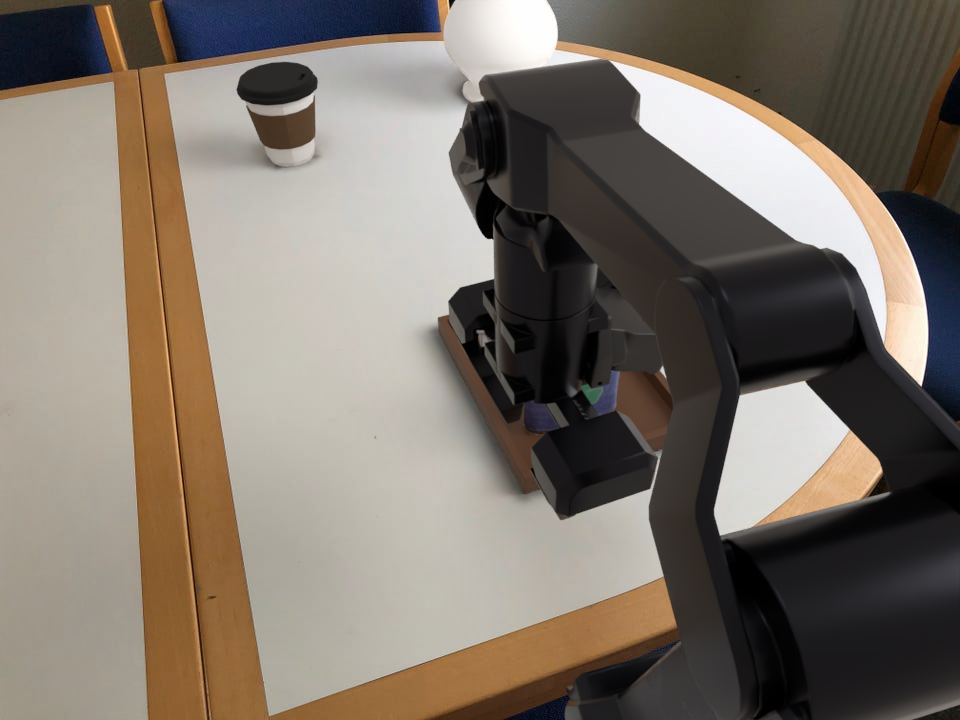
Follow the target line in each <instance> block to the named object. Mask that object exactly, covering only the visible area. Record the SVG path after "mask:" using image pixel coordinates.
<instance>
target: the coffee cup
mask: <svg viewBox="0 0 960 720" xmlns="http://www.w3.org/2000/svg"><path fill="white" fill-rule="evenodd" d="M318 84H319V81H318V77H317V76H316V75H315V74H314V71H313V70H311V68H310V67H309V66H307V65H305V64H303V63H298V62H294V61H293V62H291V61H276V62H269V63H264V64H259V65H257V66H254V67H251V68H249V69H246V71H245V72H243V73H242V74H241V75H240V76H239V78H238V82H237V87H236V94H237V95H238V97H239V98H240V100H242V101H244V102H245V104H246V105H245V108H246V110H247V112H248V115H249V117H250V119H251V122H252V124H253V128H254V129H255V131H256V134H257V137H258V139H259V141H260V143H261V144H262V146H263V148H264V150H265V152H266V155H267V157H268V158H269V160H270V161H271V162H272V163H273V164H274V165H276V166H278V167H282V168H294V167H299V166H302V165H305V164H306V163H309V162H310V161H311V160H312V158H313V157H314V155H315V149H316V148H315V147H316V146H315V138H316V130H317V129H316V95H315V91H316V90H318Z"/></svg>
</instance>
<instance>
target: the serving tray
mask: <svg viewBox="0 0 960 720" xmlns="http://www.w3.org/2000/svg"><path fill="white" fill-rule="evenodd" d="M437 327H438V328H437V329H438V333H439V336H440V338H441V339H442V341H443V344H444V345H445V347H446V349H447V351H448V352H449V354H450V356H451V358H452V361H453V362H454V364H455V366H456V368H457V369H458V372H459V374H460V375H461V377H462V379H463V381H464V383H465V385H466V386H467V389H468V390H469V392H470V394H471V396H472V398H473V400H474V401H475V404H476V405H477V407H478V410H479V411H480V413H481V414H482V417H483V419H484V421H485V422H486V425H487V427H488V428H489V431H490V432H491V433H492V436H493V437H494V439H495V441H496V443H497V445H498V447H499V449H500V451H501V453H502V455H503V456H504V459H505V460H506V462H507V464H508V466H509V467H510V470H511V472H512V474H513V476H514V478H515V479H516V481H517V484H518V485H519V487H520V488H521V491H522V493H523V494H524V495H526V494H530V493H532V492H536V491H539V490H541V489H540V487H539V486H538V484H537V482H536V480H535V478H534V477H533V475H532V473H531V471H530V469H531V468H533V465H532V461H531V448H532V446H533V445H534V444H535V443H536V442H537V441H538V440H539V439H540V438H541V437H542V436H543V435H534V434H530V433H529V432H527V431H526V428H525V425H523V424H524V407H523V411H522V415H521V419H520V420H519V421H517V422H514V423H510V424H507V423H506V422H505V420H504V418H503V417H502V415H501V413H500V412H499V410H498V408H497V406H496V405H495V403H494V401H493V400H492V398H491V396H490V394H489V393H488V391H487V389H486V388H485V386H484V384H483V383H482V381H481V379H480V378H479V376H478V374H477V373H476V371H475V369H474V367H473V366H472V364H471V362H470V361H469V359H468V357H467V355H466V353H465V352H464V350H463V348H462V346H461V344H460V342H459V341H458V338H457V334H456V332H455V330H454V329H453V327H452V325H451V323H450V321H449V314H445V315H441V316H438V317H437ZM672 409H673V401H672V397H671V393H670V390H669V386H668V382H667V379H666V375H665V374H663V373H662V371H661V370H660V372H659V373H656V374H648V373H647V372H646V371H642V372H620V374H619V380H618V387H617V398H616V408H615V410H614V411H618V412H620V413H622V414H624V415H626V416H628V417H629V418H630V419H631V421H632V422H633V424H634V425H635V426H636V428H637V429H638V431H639V432H640V433H641V435H642V436H643V438H644V439H645V440H646V442H647V443H648V445H649V446H650V447H651V449H652V450H653V452H654V453H655V452H658V451H660V450H661V451H662V450H663V446H664V442H665V437H666V433H667V429H668V425H669V421H670V417H671V413H672Z"/></svg>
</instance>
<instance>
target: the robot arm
mask: <svg viewBox="0 0 960 720" xmlns="http://www.w3.org/2000/svg"><path fill="white" fill-rule="evenodd" d="M479 89H480V94H481V95H482V96H483V97H484V100H483V101H478V102H468V103H467V105H466V108H465V112H464V116H463V117H464V118H463V121H462V125H461V127H460V128H459V131H458V133H457V134H456V135H457V136H456V137H455V139H454V140H453V143H452V145H451V147H450V149H449V151H448V156H449V162H450V168H451V173H452V177H453V178H454V180H455V182H456V184H457V187H458V188H459V191H460V193H461V195H462V196H463V199H464V201H465V203H466V205H467V207H468V209H469V211H470V213H471V215H472V217H473V219H474V221H475V224H476V225H477V227H478V230H479V231H480V233H481V235H482V236H483V237H484V238H485V239H486V240H492V241H493V242H492V243H493V278H492V279H488V280H484V281H480V282H476V283H471V284H468V285H464V286H461V287H459V288H458V289H456V291H455V293H453V295H452V296H451V297H450V299H449V300H448V301H447V305H448V315H449V321H450V323H451V325H452V327H453V329H454V330H455V332H456V334H457V338H458V341H459V342H460V344H461V346H462V348H463V350H464V352H465V353H466V355H467V357H468V359H469V361H470V362H471V364H472V366H473V367H474V369H475V371H476V373H477V374H478V376H479V378H480V379H481V381H482V383H483V384H484V386H485V388H486V389H487V391H488V393H489V394H490V396H491V398H492V400H493V401H494V403H495V405H496V406H497V408H498V410H499V412H500V413H501V415H502V417H503V418H504V420H505V422H506V423H507V424H510V423H514V422H517V421H519V420H520V419H521V415H522V411H523V407H524V403H526V402H530V401H532V402H534V403H536V404H544V405H545V406H546V408H547V410H548V411H549V413H550V414H551V416H552V418H553V419H554V421H555V422H556V424H557V426H558V427H559V429H555V430H552V431H549V432H546V433H545V434H544V435H543V436H542V437H541V438H540V439H539V440H538V441H537V442H536V443H535V444H534V445H533V446H532V448H531V461H532V465H533V468H531V469H530V471H531V473H532V475H533V477H534V478H535V480H536V482H537V484H538V486H539V487H540V489H539V490H540V491H541V493H542V495H543V497H544V498H545V501H546V502H547V503H548V505H550V507H551V508H552V509H553V512H554V513H555V514H556V516H557V518H558V519H559V520H560V521H565V520H567V519H570V518H573V517H575V516H576V515H579V514H582V513H584V512H587V511H590V510H592V509H596V508H598V507H601V506H605V505H608V504H611V503H614V502H616V501H619V500H622V499H624V498H627V497H631V496H634V495H637V494H640V493H643V492H646V491H648V490H651V488H652V490H651V495H650V499H649V502H648V503H649V504H648V523H649V526H650V529H651V533H652V537H653V541H654V546H655V549H656V553H657V557H658V560H659V564H660V568H661V571H662V575H663V580H664V583H665V587H666V591H667V594H668V599H669V602H670V606H671V610H672V614H673V617H674V621H675V625H676V628H677V633H678V636H679V641H678V642H677V643H676V644H675V645H673V647H670V648H666V649H663V650H659V651H656V652H652V653H648V654H645V655H641V656H638V657H635V658H631V659H628V660H624V661H620V662H617V663H613V664H609V665H605V666H602V667H599V668H595V669H593V670H587V671H585V672H582V673H580V674H579V675H577V677H576V678H575V679H574V680H573V684H571V685H568V686H565V690H566V694H567V696H568V698H569V700H568V701H567V702H566V704H565V707H564V719H565V720H915V719H920V718H922V717H925V716H928V715H932V714H934V713H938V712H942V711H945V710H947V709H950V708H954V707H957V706H960V425H959V424H958V423H957V422H956V421H955V419H953V418H952V416H950V414H949V413H948V412H947V411H946V410H945V409H944V408H943V407H942V406H941V405H940V404H939V403H938V402H937V401H936V400H935V399H934V397H932V396H931V394H929V393H928V392H927V391H926V390H925V389H924V387H923V386H922V385H921V384H920V383H919V382H918V381H917V380H916V379H915V378H914V377H913V376H912V375H911V373H909V372H908V371H907V370H906V369H905V368H904V367H903V365H901V363H899V362H898V360H896V359H895V357H894V356H893V355H892V354H891V353H890V352H889V351H888V349H886V347H885V344H884V341H883V337H882V335H881V331H880V329H879V325H878V322H877V319H876V315H875V313H874V309H873V307H872V304H871V300H870V297H869V294H868V291H867V289H866V286H865V284H864V282H863V280H862V278H861V276H860V274H859V272H858V270H857V268H856V266H854V265H853V263H852V262H851V261H850V260H849V259H848V258H847V257H846V256H845V254H843V253H842V252H839V251H837V250H834V249H831V248H830V247H824V248H819V247H817V246H815V245H814V244H809V243H806V242H802V241H799V240H796V239H795V238H793V237H792V236H791V235H790V234H788V233H787V232H785V231H784V230H782V228H781V227H778V226H777V225H776V224H774V223H773V222H771V221H770V220H769V219H767V218H766V217H764V216H763V215H762V214H761V213H759V212H758V211H757V210H755V209H754V208H752V207H751V206H750V205H748V204H747V203H746V202H744V201H743V200H741V199H740V198H739V197H737V196H736V195H735V194H733V193H732V192H731V191H729V190H728V189H726V188H725V187H723V186H722V185H721V184H719V182H717V181H715V180H714V179H712V178H711V177H709V176H708V175H707V174H706V173H704V172H703V171H701V170H700V169H698V168H697V167H696V166H695V165H693V164H692V163H691V162H689V161H687V160H686V159H685V158H683V157H682V156H681V155H680V154H678V153H676V151H673V149H671V148H669V147H668V146H667V145H665V143H662V142H661V141H660V140H659V139H657V138H656V137H654V136H653V135H652V134H650V133H649V132H647V131H646V130H645V129H644V128H643V126H642V125H641V124H640V116H641V115H640V114H641V93H640V91H638V90H637V88H636V87H635V86H634V85H633V84H632V83H631V81H630V80H628V79H627V77H626V76H625V75H624V74H623V73H622V72H621V71H620V69H618V67H616V65H615V64H614V63H612V61H610V60H609V59H606V58H597V59H588V60H581V61H575V62H567V63H562V64H553V65H546V66H545V65H544V66H543V67H538V68H530V69H523V70H516V71H509V72H501V73H494V74H487V75H484V76H483V77H482V78H481V80H480V81H479ZM662 368H663V371H664V376H665V378H666V379H667V382H668V386H669V390H670V393H671V397H672V401H673V409H672V413H671V417H670V421H669V425H668V429H667V433H666V437H665V442H664V446H663V449H661V454H660V458H659V457H658V456H657V454H656V453H655V451H654V452H653V450H652V449H651V447H650V446H649V445H648V443H647V442H646V440H645V439H644V438H643V436H642V435H641V433H640V432H639V431H638V429H637V428H636V426H635V425H634V424H633V422H632V421H631V419H630V418H629V417H628V416H626V415H624V414H622V413H620V412H618V411H613V412H610V413H607V414H604V415H600V416H599V414H598V413H597V411H596V410H595V408H594V407H593V405H592V404H591V402H590V401H589V399H588V398H587V397H586V395H585V394H584V392H583V391H582V389H581V386H583V385H586V384H588V385H589V387H590V388H591V389H594V388H597V387H600V386H604V385H607V384H610V376H611V370H612V371H617V372H642V371H646V372H647V373H648V374H656V373H659V372H660V371H661V370H662ZM802 382H805V384H806V385H807V386H808V387H809V388H810V389H811V390H812V391H813V393H814V394H815V395H816V396H817V397H818V398H819V399H820V400H821V401H822V402H823V403H824V405H826V407H828V408H829V409H830V410H831V412H832V413H833V414H834V415H835V416H836V417H837V418H838V419H839V420H840V421H841V422H842V423H843V424H844V426H846V427H847V428H848V429H849V431H850V432H851V433H852V434H853V435H855V436H856V438H857V439H858V440H859V441H860V443H862V444H863V446H865V448H867V449H868V450H869V451H870V452H871V454H873V456H875V458H876V459H877V460H878V462H879V465H880V468H881V471H882V474H883V478H884V481H885V483H886V487H887V490H888V492H884V493H880V494H876V495H872V496H869V497H865V498H860V499H857V500H856V499H855V500H853V501H849V502H845V503H841V504H837V505H833V506H829V507H826V508H825V507H824V508H822V509H818V510H814V511H810V512H806V513H802V514H798V515H795V516H790V517H787V518H782V519H779V520H776V521H775V520H774V521H771V522H768V523H763V524H759V525H755V526H752V527H748V528H744V529H740V530H735V531H732V532H728V533H724V534H720V530H719V527H718V524H717V519H716V516H715V507H716V503H717V498H718V494H719V489H720V484H721V481H722V477H723V472H724V468H725V463H726V457H727V453H728V450H729V445H730V441H731V436H732V432H733V428H734V423H735V418H736V414H737V409H738V405H739V400H740V397H741V396H745V395H748V394H752V393H758V392H762V391H767V390H770V389H775V388H780V387H784V386H789V385H793V384H798V383H802ZM658 459H659V462H658ZM657 465H658V466H657ZM656 469H657V470H656ZM652 485H653V487H652Z"/></svg>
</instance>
